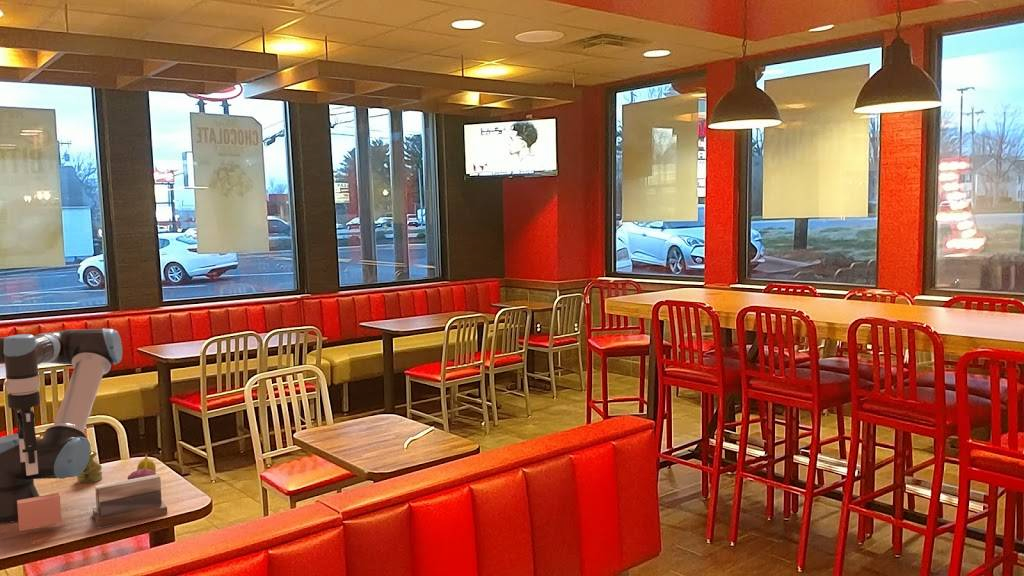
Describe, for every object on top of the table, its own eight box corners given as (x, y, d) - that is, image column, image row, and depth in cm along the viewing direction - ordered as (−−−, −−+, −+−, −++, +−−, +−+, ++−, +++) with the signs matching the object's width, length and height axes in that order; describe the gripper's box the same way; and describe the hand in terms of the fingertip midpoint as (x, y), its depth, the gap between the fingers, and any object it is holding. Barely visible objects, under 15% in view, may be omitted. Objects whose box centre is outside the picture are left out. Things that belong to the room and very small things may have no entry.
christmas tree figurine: (107, 477, 270) (105, 448, 268) (91, 484, 262) (89, 455, 261) (88, 475, 271) (86, 446, 270) (71, 483, 264) (69, 453, 263)
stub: (18, 527, 222) (16, 500, 221) (60, 519, 228) (58, 492, 227) (19, 531, 220) (17, 503, 219) (61, 522, 226) (59, 495, 225)
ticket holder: (92, 514, 237) (90, 481, 236) (158, 501, 247) (156, 469, 246) (99, 528, 227) (97, 493, 226) (167, 513, 238) (165, 480, 237)
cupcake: (146, 485, 262) (144, 449, 260) (163, 489, 257) (161, 453, 256) (122, 493, 254) (120, 456, 253) (139, 498, 250) (136, 460, 249)
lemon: (144, 478, 268) (142, 455, 267) (159, 479, 267) (158, 455, 266) (134, 484, 263) (132, 460, 262) (150, 485, 262) (148, 461, 261)
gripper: (2, 385, 227) (8, 458, 229) (12, 403, 207) (18, 483, 209) (33, 381, 231) (38, 453, 234) (45, 398, 211) (51, 477, 214)
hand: (29, 467), depth 221 cm, fingers open, 13 cm apart
